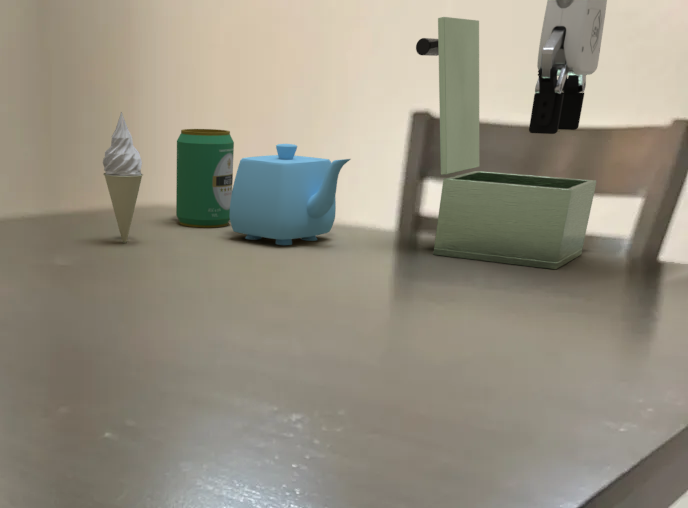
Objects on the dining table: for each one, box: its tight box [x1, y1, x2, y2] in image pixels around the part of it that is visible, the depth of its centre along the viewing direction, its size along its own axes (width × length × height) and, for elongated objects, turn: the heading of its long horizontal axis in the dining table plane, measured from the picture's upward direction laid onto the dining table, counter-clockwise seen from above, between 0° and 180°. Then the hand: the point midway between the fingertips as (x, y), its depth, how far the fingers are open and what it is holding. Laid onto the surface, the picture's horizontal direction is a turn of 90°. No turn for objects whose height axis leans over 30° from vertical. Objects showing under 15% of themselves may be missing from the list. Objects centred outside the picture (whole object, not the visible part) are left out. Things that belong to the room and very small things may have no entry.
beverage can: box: [175, 128, 235, 229], centre depth 138 cm, size 8×8×12 cm
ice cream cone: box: [102, 111, 144, 244], centre depth 122 cm, size 5×5×15 cm
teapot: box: [229, 143, 352, 246], centre depth 128 cm, size 12×18×12 cm
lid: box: [415, 16, 480, 176], centre depth 121 cm, size 16×13×5 cm
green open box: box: [432, 170, 597, 270], centre depth 123 cm, size 16×13×9 cm
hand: (553, 131), depth 116 cm, fingers open, 9 cm apart
